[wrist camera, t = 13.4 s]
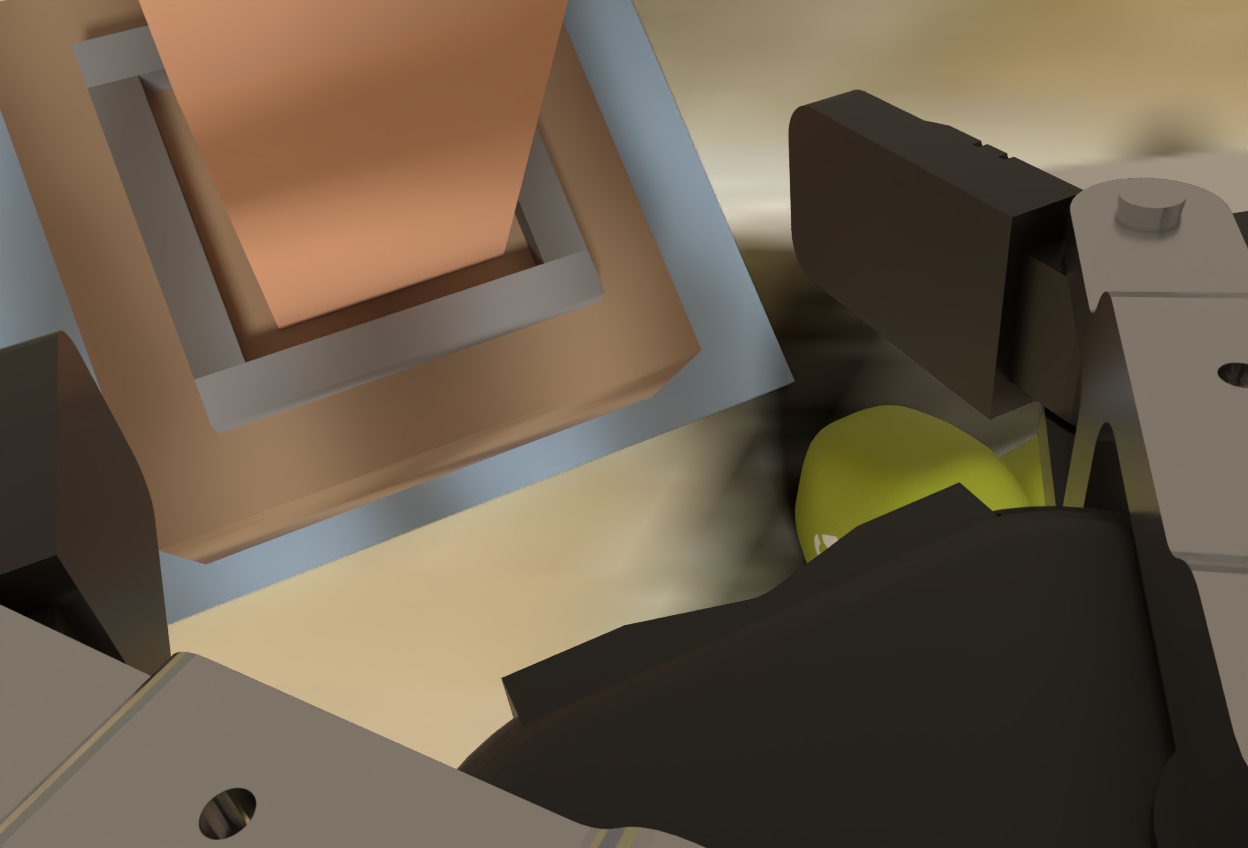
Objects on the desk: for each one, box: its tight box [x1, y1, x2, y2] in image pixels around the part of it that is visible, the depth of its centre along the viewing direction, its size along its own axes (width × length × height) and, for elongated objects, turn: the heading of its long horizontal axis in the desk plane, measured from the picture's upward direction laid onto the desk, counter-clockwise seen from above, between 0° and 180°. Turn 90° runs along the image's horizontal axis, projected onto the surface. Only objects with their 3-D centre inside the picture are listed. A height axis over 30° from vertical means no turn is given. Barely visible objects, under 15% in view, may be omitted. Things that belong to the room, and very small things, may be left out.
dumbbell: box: [795, 405, 1045, 563], centre depth 27 cm, size 16×8×7 cm, turn 113°
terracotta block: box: [139, 0, 568, 330], centre depth 18 cm, size 5×5×10 cm
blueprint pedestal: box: [0, 0, 795, 625], centre depth 25 cm, size 20×14×6 cm
